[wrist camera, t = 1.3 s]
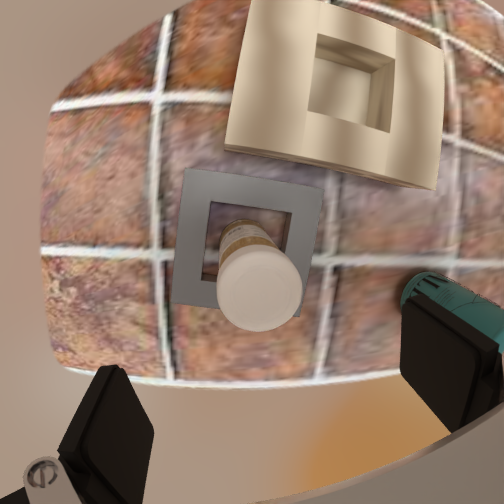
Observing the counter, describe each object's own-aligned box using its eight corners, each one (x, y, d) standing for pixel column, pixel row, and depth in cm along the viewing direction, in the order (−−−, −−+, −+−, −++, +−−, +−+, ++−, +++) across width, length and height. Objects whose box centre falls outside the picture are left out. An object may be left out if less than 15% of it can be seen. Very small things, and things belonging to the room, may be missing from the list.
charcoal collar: (317, 188, 28) (324, 189, 26) (294, 308, 31) (299, 317, 29) (187, 168, 27) (185, 167, 25) (173, 294, 30) (170, 302, 28)
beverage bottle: (417, 325, 33) (526, 423, 14) (380, 306, 32) (500, 418, 13) (444, 278, 32) (570, 352, 13) (410, 254, 31) (555, 331, 11)
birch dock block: (412, 66, 26) (443, 51, 20) (401, 186, 29) (435, 190, 23) (248, 18, 24) (254, -13, 18) (224, 150, 27) (224, 143, 21)
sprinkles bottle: (232, 274, 30) (239, 347, 17) (210, 230, 28) (200, 276, 15) (276, 253, 29) (316, 312, 16) (256, 209, 28) (284, 236, 15)
